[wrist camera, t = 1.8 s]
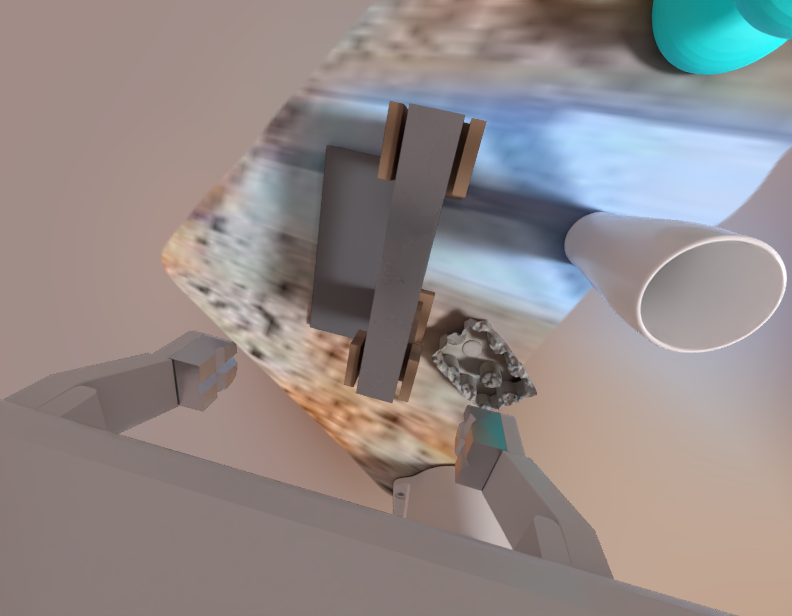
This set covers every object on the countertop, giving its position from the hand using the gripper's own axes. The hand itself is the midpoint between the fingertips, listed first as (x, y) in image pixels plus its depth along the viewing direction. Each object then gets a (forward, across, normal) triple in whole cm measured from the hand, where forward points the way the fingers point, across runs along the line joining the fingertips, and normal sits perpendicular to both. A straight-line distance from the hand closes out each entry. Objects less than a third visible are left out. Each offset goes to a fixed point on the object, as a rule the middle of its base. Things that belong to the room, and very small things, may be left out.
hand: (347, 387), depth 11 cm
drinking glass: (+24, -16, -4) cm, 30 cm away
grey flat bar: (+24, +7, +3) cm, 25 cm away
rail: (+14, 0, 0) cm, 14 cm away
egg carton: (+24, -11, +12) cm, 29 cm away
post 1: (+24, 0, -8) cm, 25 cm away
